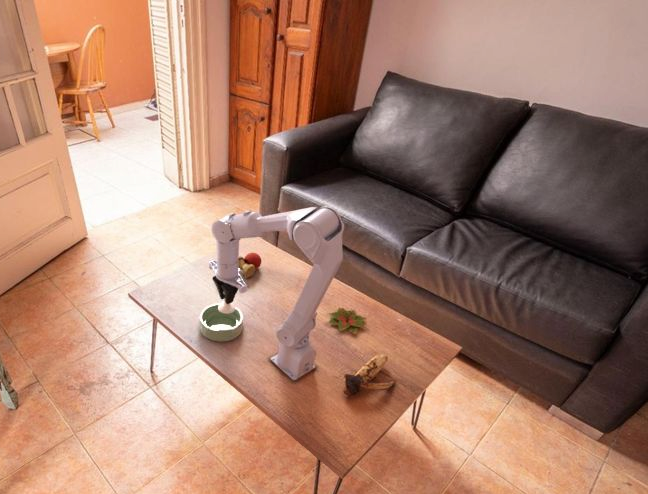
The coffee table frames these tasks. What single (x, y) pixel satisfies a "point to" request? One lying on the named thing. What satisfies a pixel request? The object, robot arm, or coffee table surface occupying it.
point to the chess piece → (226, 307)
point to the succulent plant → (347, 320)
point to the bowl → (220, 323)
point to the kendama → (249, 264)
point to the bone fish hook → (366, 377)
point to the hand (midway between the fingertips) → (226, 300)
